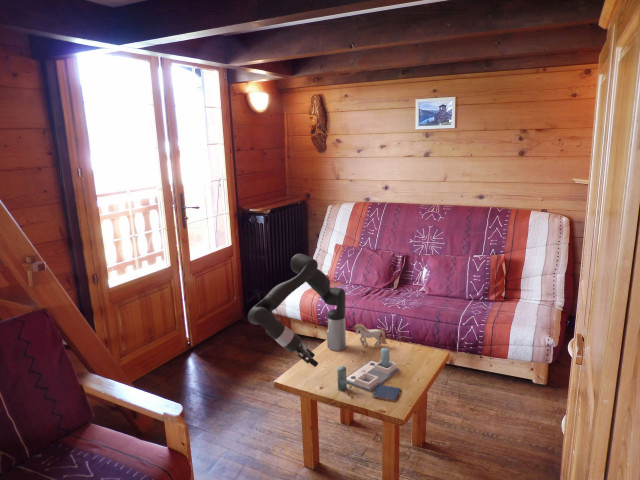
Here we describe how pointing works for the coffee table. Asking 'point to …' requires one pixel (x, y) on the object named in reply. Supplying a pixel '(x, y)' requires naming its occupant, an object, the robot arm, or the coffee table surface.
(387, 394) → the woven mat
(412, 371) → the coffee table surface
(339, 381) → the teal peg
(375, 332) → the unicorn figurine
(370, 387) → the peg board
